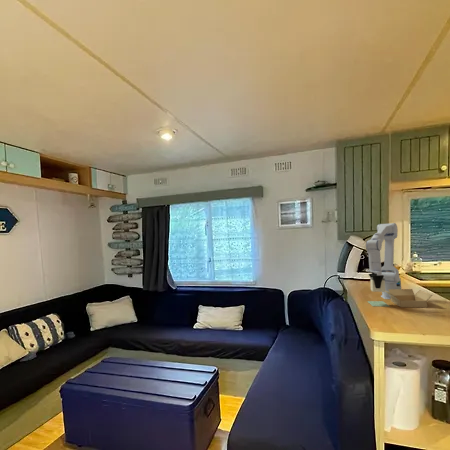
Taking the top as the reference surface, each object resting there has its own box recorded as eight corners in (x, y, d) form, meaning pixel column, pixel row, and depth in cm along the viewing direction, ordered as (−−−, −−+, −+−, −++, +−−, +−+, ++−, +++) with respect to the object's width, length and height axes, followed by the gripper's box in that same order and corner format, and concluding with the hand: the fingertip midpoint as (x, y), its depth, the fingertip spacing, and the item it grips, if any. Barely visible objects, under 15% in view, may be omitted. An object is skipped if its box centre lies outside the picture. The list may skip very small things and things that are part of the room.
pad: (367, 302, 166) (367, 301, 166) (382, 302, 164) (382, 301, 164) (372, 307, 154) (372, 305, 154) (389, 307, 153) (389, 306, 153)
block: (370, 290, 163) (370, 277, 163) (382, 290, 161) (382, 277, 162) (372, 291, 158) (372, 278, 158) (385, 291, 157) (384, 278, 157)
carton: (383, 300, 168) (382, 289, 169) (418, 300, 164) (417, 288, 165) (394, 307, 151) (393, 295, 151) (433, 308, 147) (432, 294, 147)
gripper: (363, 261, 169) (365, 285, 168) (370, 263, 154) (372, 289, 154) (377, 260, 167) (379, 285, 166) (385, 263, 153) (387, 289, 152)
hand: (376, 287), depth 160 cm, fingers closed on block, 4 cm apart
